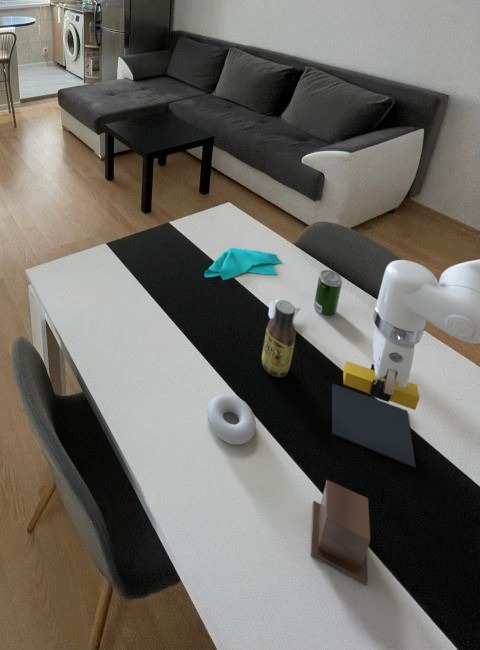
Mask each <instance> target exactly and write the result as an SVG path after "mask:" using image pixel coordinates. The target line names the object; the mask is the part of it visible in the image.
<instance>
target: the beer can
mask: <svg viewBox="0 0 480 650" xmlns="http://www.w3.org/2000/svg"><path fill="white" fill-rule="evenodd" d="M342 285H343V279H342V276H341V275H340V274H339V273H338V272H337V271H334V270H332V269H331V270H330V269H323V270H321V271H320V274H318V280H317V285H316V291H315V295H314V303H313V307H314V310H315V312H316V313H317V314H318V315H320V316H322V317H324V318H333V317H334V316H335V315H336V314H337V310H338V304H339V300H340V295H341V290H342Z"/></svg>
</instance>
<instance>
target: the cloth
mask: <svg viewBox="0 0 480 650" xmlns="http://www.w3.org/2000/svg"><path fill="white" fill-rule="evenodd" d="M278 264H283V262H282V260H281V259H280V258H279V257H278V255H277V254H276V253H271V252H266V251H262V250H261V251H260V250H253V249H248V248H244V249H243V248H239V247H229V248H228V249H226V250H225V251H224V252H223V253H221V254H220V255H219V256H218V257H217V259H216V260H214V262H213V263H212V264H211V265H210V266H209V267H208V269H206V270H205V271H204V278H216V277H220V278H221V279H222V281H226V280H229V279H232V278H235V277H237V276H239V275H242V274H245V273H253V274H257V275H268V276H269V275H272V276H273V275H274V276H275V275H277V274H278V272H277V271H276V269H275V267H274V265H278Z"/></svg>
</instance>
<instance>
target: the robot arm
mask: <svg viewBox="0 0 480 650" xmlns="http://www.w3.org/2000/svg"><path fill="white" fill-rule="evenodd" d="M372 315H373V316H372V320H371V321H372V324H373V326H374V328H375V329H374V332H373V335H372V356H373V359H372V363H371V367H370V369H372V370H374V371H375V375H376V379H375V380H373V382H372V386H371V389H370V394H369V396H370V397H371V398H374V399H377V400H380V401H382V402H385V403H389V402H390V401H389V400H390V397H391V396H393V389H394V384H395V380H397V383H398V386H399V387H401V388H406V386H407V383H408V382H409V378H410V374H411V370H412V367H413V366H412V365H413V360H414V355H415V345H417V344H419V343H420V342H421V341H422V337H423V334H424V331H425V328H426V325H427V322H428V323H429V324H431V325H432V326H434V327H436V328H437V329H440V330H441V331H443V332H444V333H446V334H447V335H449V336H451V337H453V338H455V339H458V340H460V341H462V342H465V343H468V344H477V345H478V344H480V259H475V260H468V261H464V262H460V263H458V264H457V263H456V264H454V265H451V266H449V267H448V268H446V269H445V270H444V271H443V272H442V273H441V274H440V277H439V280H438V278H436V275H435V274H434V273H433V272H432V271H431V270H430V269H428V268H427V267H425V266H424V265H422V264H419V263H417V262H414V261H411V260H407V259H397V260H393V261H391V262H389V264H387V265H386V268H385V270H384V273H383V277H382V281H381V285H380V289H379V293H378V296H377V300H376V304H375V308H374V312H373V314H372ZM381 377H382V378H385V381H382V380H380V379H381Z"/></svg>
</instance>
